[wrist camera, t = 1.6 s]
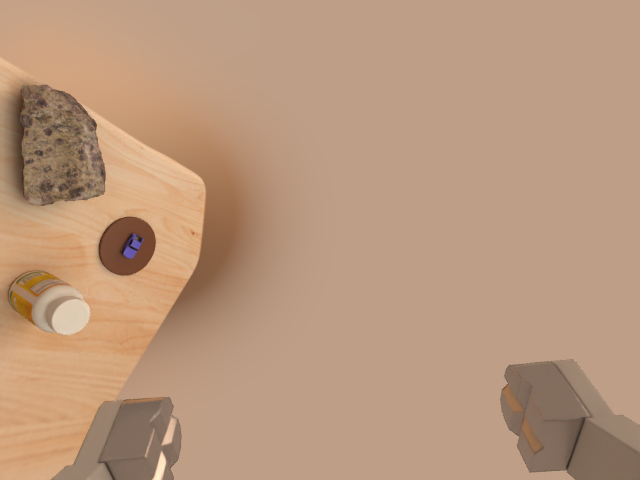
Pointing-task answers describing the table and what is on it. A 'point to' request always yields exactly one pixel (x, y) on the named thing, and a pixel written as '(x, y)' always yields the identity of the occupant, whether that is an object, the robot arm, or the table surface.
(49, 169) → the rock
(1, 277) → the table surface
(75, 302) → the supplement bottle
